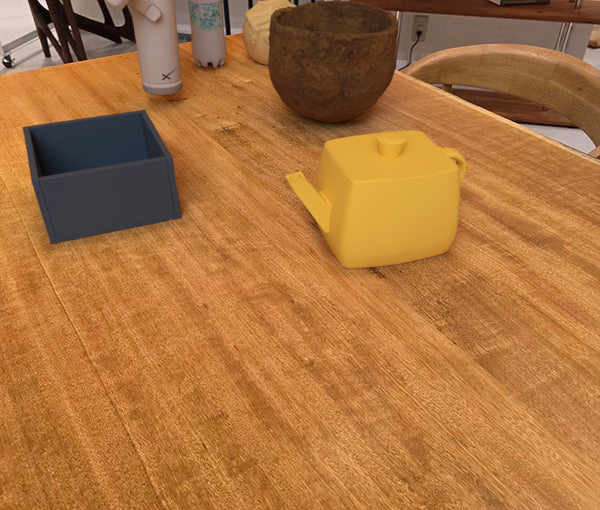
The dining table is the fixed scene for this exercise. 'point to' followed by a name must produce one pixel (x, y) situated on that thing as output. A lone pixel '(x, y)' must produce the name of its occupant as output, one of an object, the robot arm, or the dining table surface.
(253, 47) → the sculpture
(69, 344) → the dining table surface
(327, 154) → the teapot
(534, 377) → the dining table surface
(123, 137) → the box
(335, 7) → the bowl
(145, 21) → the travel mug
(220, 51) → the bottle
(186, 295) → the dining table surface
